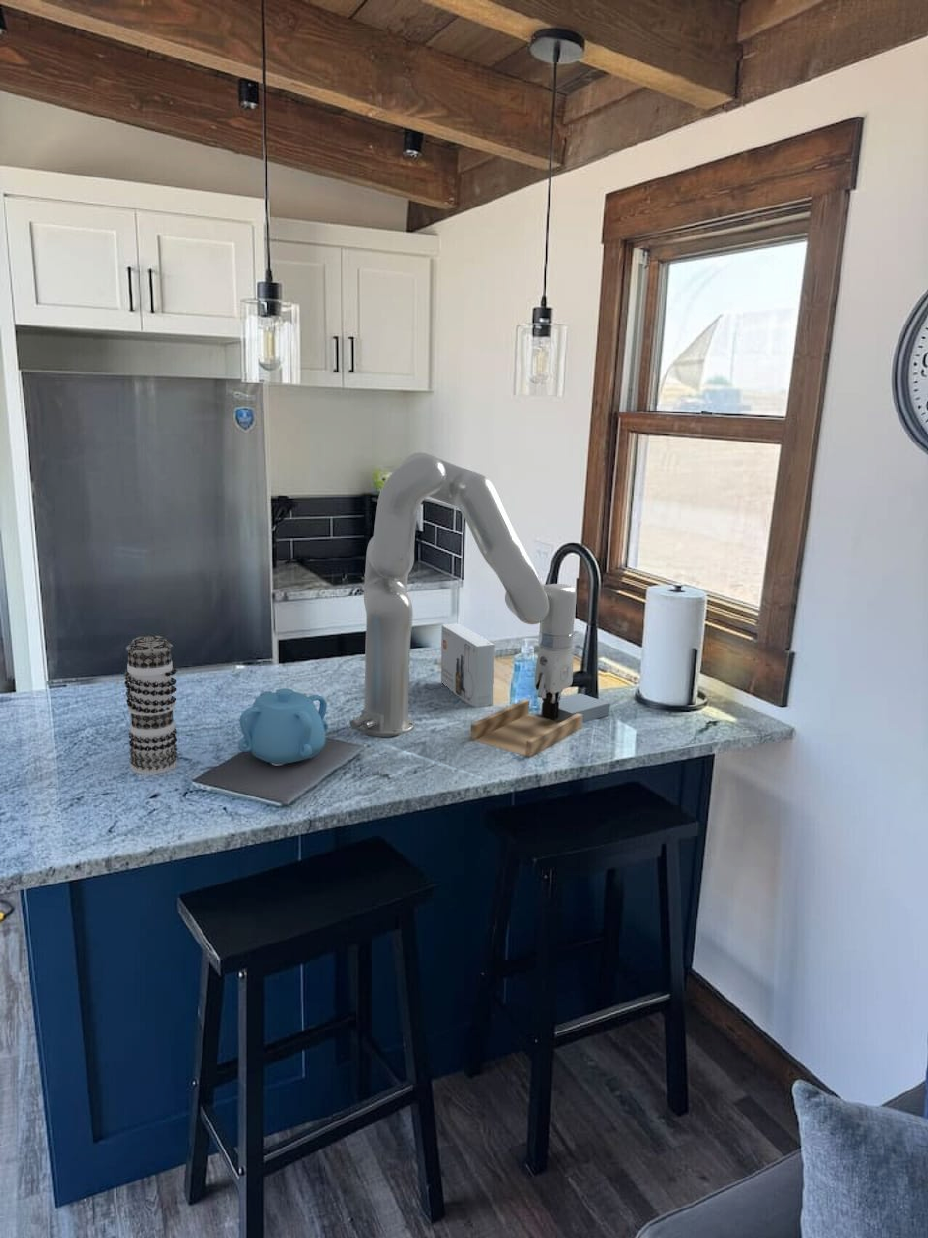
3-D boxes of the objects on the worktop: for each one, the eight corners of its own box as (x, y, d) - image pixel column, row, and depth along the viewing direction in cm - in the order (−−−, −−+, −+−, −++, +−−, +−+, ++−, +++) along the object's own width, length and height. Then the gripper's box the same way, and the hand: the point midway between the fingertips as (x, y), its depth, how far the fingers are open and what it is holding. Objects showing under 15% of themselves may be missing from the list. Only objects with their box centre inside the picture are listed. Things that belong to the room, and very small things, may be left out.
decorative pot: (227, 765, 162) (225, 698, 159) (263, 735, 178) (262, 673, 174) (307, 776, 159) (307, 708, 156) (336, 745, 175) (337, 682, 171)
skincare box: (438, 683, 218) (440, 623, 214) (457, 681, 220) (460, 622, 216) (473, 710, 199) (476, 645, 195) (493, 708, 201) (497, 643, 198)
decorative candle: (162, 752, 167) (157, 629, 161) (189, 766, 161) (185, 639, 155) (119, 765, 160) (112, 638, 154) (145, 780, 154) (139, 648, 148)
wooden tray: (530, 759, 172) (531, 742, 171) (470, 741, 180) (470, 724, 179) (581, 730, 189) (582, 714, 188) (524, 714, 198) (525, 699, 197)
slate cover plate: (570, 726, 190) (572, 713, 190) (540, 715, 197) (542, 702, 196) (608, 715, 200) (609, 703, 199) (578, 705, 206) (580, 693, 205)
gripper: (553, 649, 180) (547, 730, 184) (586, 637, 192) (580, 713, 196) (523, 642, 184) (518, 722, 188) (557, 630, 196) (552, 705, 200)
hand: (549, 717), depth 192 cm, fingers closed
